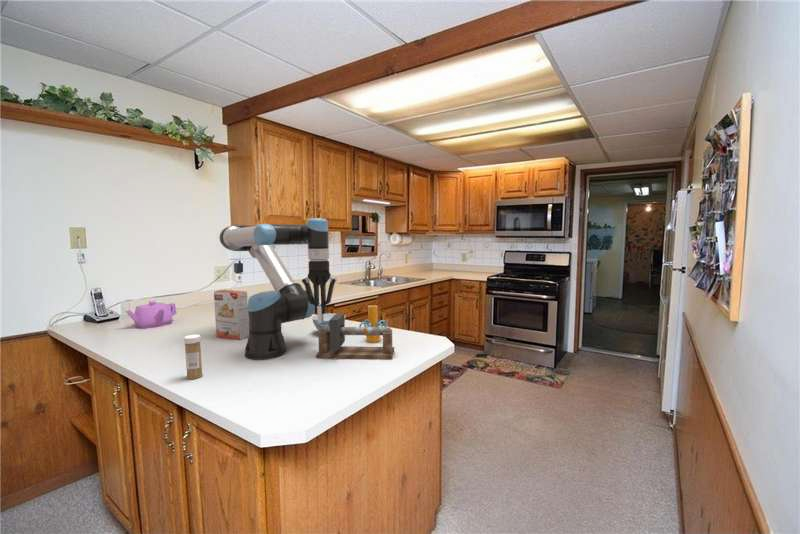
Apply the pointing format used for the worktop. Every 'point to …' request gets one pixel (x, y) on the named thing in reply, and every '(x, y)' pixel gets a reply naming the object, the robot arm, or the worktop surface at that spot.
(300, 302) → the robot arm
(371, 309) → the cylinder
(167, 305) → the teakettle
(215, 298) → the cracker box
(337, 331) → the collar
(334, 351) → the pipe stand
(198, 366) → the sprinkles bottle
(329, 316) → the chinaware
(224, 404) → the worktop surface
